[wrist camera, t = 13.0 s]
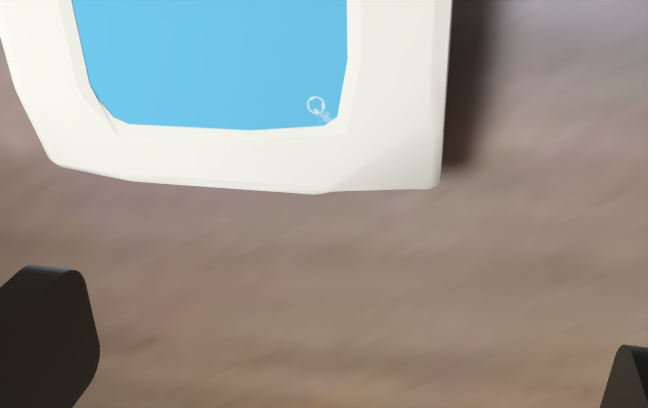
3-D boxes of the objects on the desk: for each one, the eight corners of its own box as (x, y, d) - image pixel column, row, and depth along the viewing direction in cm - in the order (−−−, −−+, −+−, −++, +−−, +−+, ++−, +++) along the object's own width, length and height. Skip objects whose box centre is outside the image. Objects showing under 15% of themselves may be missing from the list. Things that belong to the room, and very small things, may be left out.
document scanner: (13, -167, 39) (-61, -173, 34) (466, -191, 33) (464, -202, 28) (85, 141, 49) (37, 175, 44) (442, 162, 43) (437, 204, 38)
